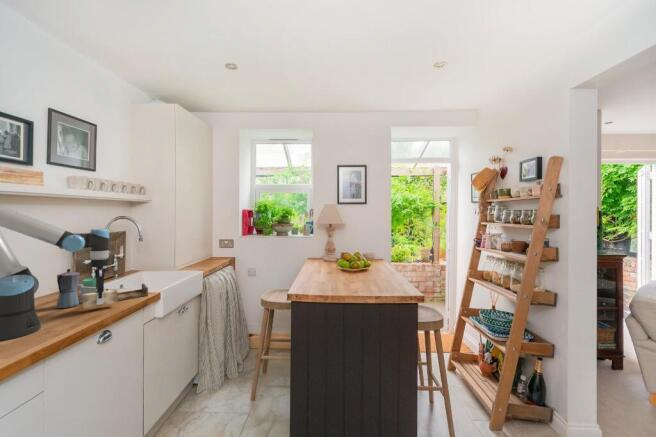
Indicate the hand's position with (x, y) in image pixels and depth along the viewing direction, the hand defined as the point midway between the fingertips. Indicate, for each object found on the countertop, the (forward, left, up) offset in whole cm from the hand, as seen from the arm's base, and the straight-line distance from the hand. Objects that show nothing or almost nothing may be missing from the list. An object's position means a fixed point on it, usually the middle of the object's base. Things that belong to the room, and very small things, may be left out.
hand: (99, 303), depth 147 cm
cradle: (+14, +17, -3) cm, 22 cm away
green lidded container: (0, +37, -3) cm, 37 cm away
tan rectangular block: (0, 0, -1) cm, 1 cm away
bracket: (-4, +23, -4) cm, 24 cm away
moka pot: (-12, +18, -3) cm, 22 cm away
